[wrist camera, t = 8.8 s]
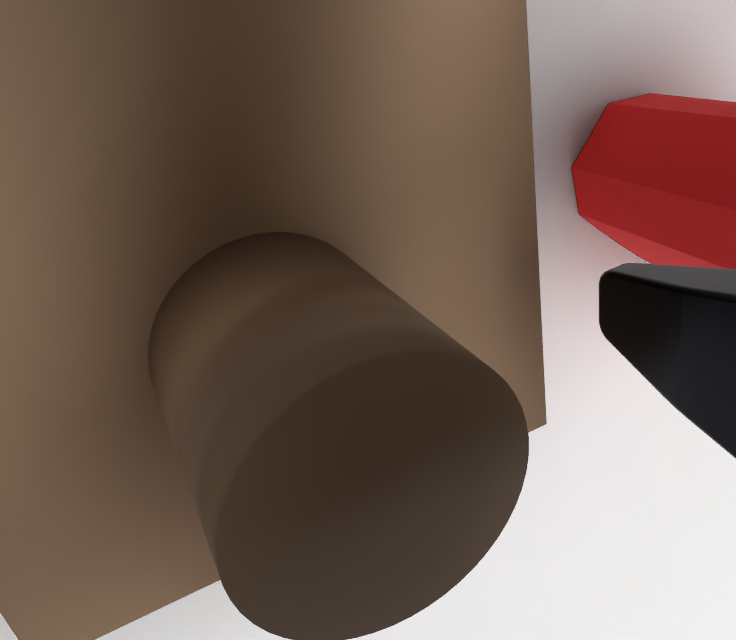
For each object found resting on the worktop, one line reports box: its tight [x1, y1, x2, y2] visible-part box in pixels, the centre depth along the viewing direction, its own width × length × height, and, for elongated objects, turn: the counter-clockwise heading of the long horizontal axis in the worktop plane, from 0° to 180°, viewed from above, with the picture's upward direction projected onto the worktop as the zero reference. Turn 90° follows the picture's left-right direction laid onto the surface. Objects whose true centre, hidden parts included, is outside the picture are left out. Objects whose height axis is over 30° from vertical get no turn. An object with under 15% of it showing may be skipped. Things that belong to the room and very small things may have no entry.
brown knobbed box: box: [0, 0, 546, 640], centre depth 11 cm, size 10×10×10 cm
